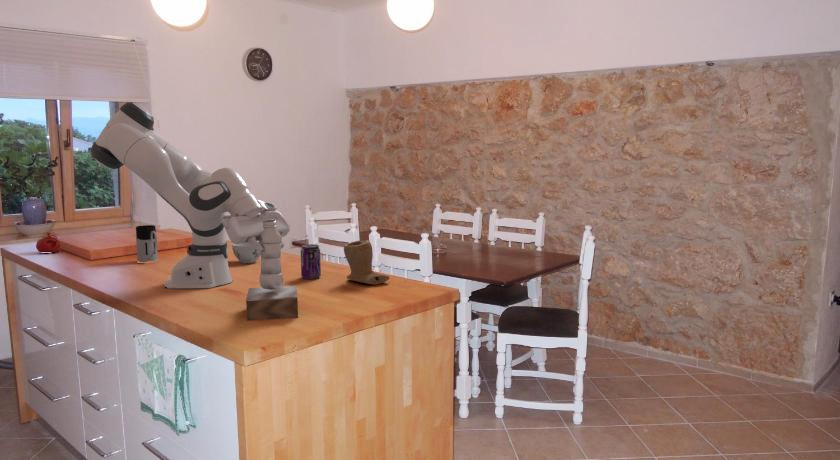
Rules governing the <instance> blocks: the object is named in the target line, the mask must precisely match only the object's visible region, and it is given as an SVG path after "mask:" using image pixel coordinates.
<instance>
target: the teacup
mask: <svg viewBox="0 0 840 460" xmlns="http://www.w3.org/2000/svg"><path fill="white" fill-rule="evenodd" d="M257 242H258V243H259V241H257ZM231 248H232V251H233V252H232V253H233V254H234V257H235V258H236V259H237V260H238V261H240V263H241V264H244V263H248V264H254V263H256V261H258V260H259V258H261V252H260V253H258V251H257V250H256V249H255V248H254V247H252V246H250V245H249V243H242V244H234V243H232V244H231Z"/></svg>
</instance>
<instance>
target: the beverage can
mask: <svg viewBox="0 0 840 460" xmlns="http://www.w3.org/2000/svg"><path fill="white" fill-rule="evenodd" d="M321 264H322V263H321V249H320V245H319V244H313V243H312V244H303V245H301V249H300V271H301V272H300V273H301V274H300V275H301V278H304V279H306V280H314V279H319V277H321V276H322V274H321V273H322V268H321V266H322V265H321Z"/></svg>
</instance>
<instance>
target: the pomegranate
mask: <svg viewBox="0 0 840 460" xmlns="http://www.w3.org/2000/svg"><path fill="white" fill-rule="evenodd" d="M46 234H47V236H46V235H43V236H42V235H41V236H40V237H38V240H37V242H36V245H35V247H36V250H37V251H38V253H40V252H56V251H59V250H60V251H61V249H60V243H61V241H60V240H59V239H58V237H57V236H55V235H53V234H52V235H51V233H50V232H47V233H46ZM40 238H41V239H40ZM57 239H58V240H59V241H60V242H59V241H58V240H57ZM60 251H59V252H60ZM56 253H57V252H56Z"/></svg>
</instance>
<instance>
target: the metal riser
mask: <svg viewBox="0 0 840 460" xmlns="http://www.w3.org/2000/svg"><path fill="white" fill-rule="evenodd" d="M298 299H299V298H298V289H297V285H282V286H281V287H280V288H277V289H273V290H270V289H263V288H262V287H248V290H247V294H246V299H245V302H246V303H245V304H246V305H245V306H246V321H262V320H263V321H264V320H276V319H277V320H278V319H292V318H299V304H298V303H299V301H298Z"/></svg>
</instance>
